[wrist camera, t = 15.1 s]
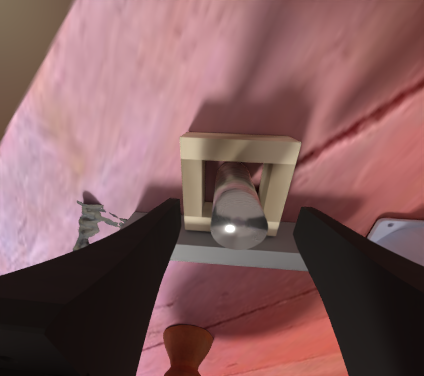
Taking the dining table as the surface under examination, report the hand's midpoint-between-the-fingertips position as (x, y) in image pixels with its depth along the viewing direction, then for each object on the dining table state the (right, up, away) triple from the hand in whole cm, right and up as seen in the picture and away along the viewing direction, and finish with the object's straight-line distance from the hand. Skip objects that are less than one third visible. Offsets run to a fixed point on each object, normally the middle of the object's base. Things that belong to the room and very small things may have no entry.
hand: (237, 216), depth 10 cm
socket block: (0, +2, +5) cm, 6 cm away
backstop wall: (0, -2, +7) cm, 8 cm away
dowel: (0, +3, +5) cm, 6 cm away
